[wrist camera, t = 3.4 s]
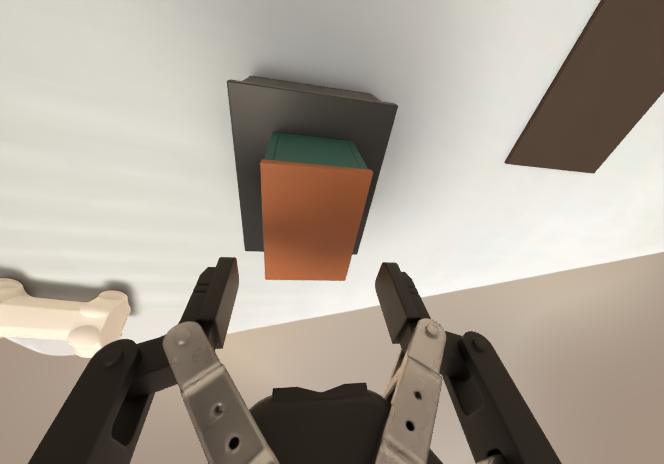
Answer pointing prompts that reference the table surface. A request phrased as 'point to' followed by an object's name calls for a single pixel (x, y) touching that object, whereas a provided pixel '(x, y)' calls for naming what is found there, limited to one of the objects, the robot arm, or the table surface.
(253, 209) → the bottom box
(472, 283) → the table surface
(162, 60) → the table surface
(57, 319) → the white bone
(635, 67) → the mat
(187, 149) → the table surface
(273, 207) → the orange and teal box
